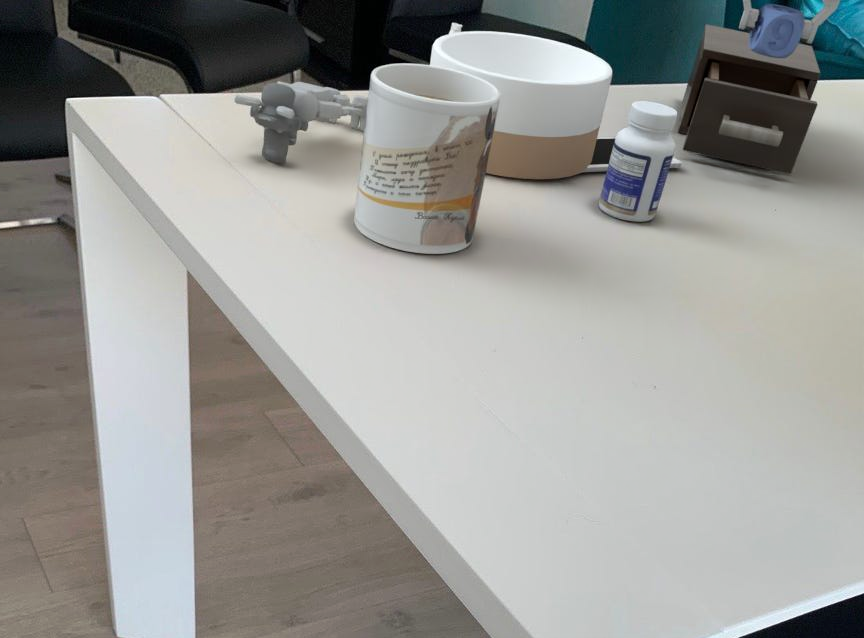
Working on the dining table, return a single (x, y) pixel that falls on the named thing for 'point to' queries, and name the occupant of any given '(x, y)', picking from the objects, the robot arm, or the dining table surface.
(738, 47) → the cabinet
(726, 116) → the drawer
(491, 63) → the bowl
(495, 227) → the dining table surface
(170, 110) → the dining table surface
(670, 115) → the pill bottle
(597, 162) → the cell phone
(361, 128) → the figurine
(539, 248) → the dining table surface
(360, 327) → the dining table surface
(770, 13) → the decorative dice
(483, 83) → the mug
